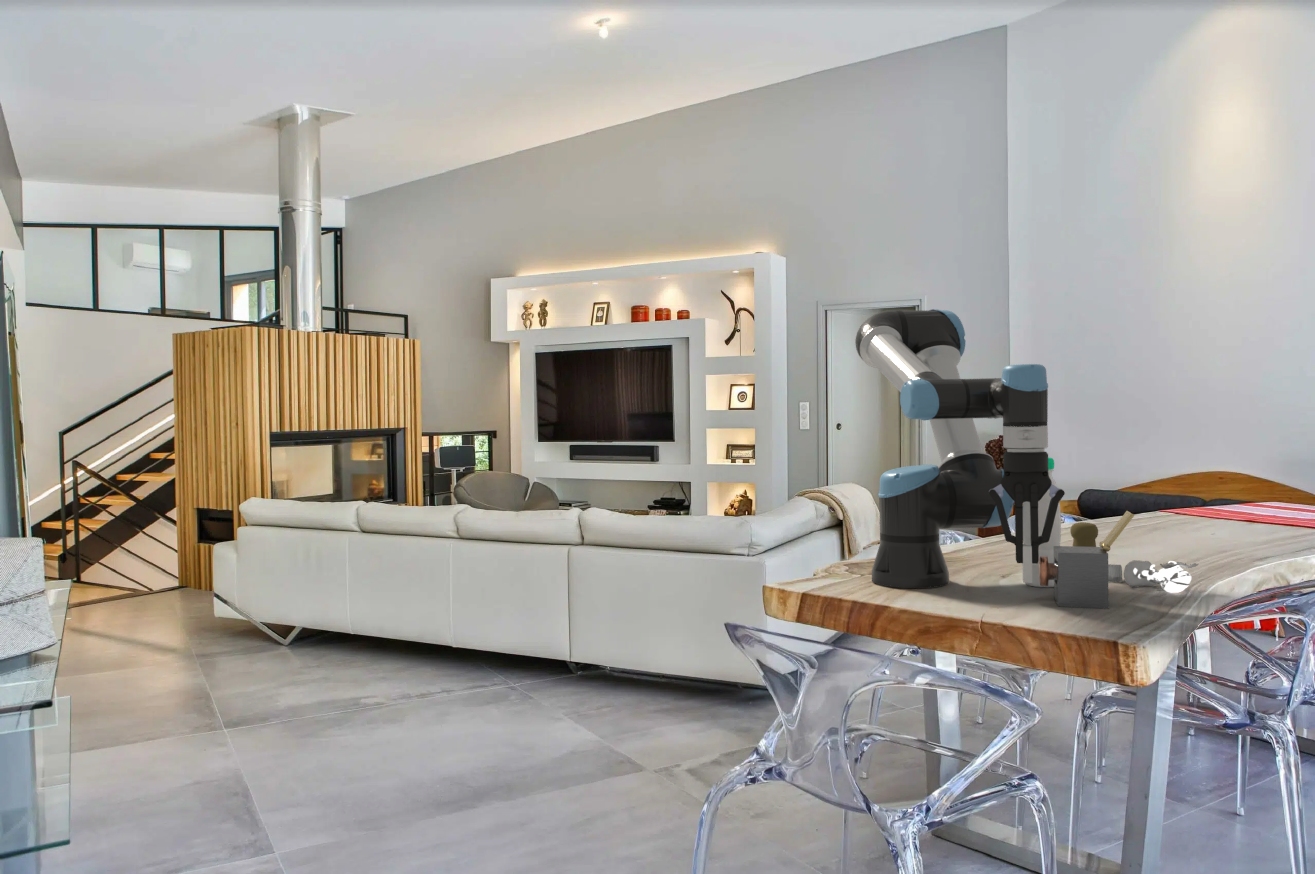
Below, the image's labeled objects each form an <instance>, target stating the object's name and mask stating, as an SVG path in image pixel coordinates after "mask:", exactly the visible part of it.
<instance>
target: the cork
mask: <svg viewBox="0 0 1315 874" xmlns="http://www.w3.org/2000/svg"><path fill="white" fill-rule="evenodd" d="M1070 535H1071V538H1073V540H1072V546H1076V547H1097V543H1096V540H1097V538H1098V536H1099V529H1098V526H1097V525H1096V524H1095V523H1091V522H1083V521H1082V522H1075V523H1073V524H1072V525H1071V526H1070Z"/></svg>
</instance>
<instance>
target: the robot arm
mask: <svg viewBox="0 0 1315 874" xmlns="http://www.w3.org/2000/svg"><path fill="white" fill-rule="evenodd" d="M965 336H966V332H965V328H964V324H963V322H962V321H961V318H960V317H959V316H958V315H957V314H956V313H955V312H953V311H950V310H945V309H944V310H942V309H937V308H933V309H929V310H915V309H913V310H910V309H907V310H899V309H898V310H889V309H888V310H884V311H880V312H877V313H874V314H872V315H870V317H868V318H867V319H866V320H865V321H863V323H862V324H861V325H860V326H859V328H858V330H857V332H856V336H855V339H854V340H855V344H854V345H855V349H856V352H857V354H858V356H859V358H860V359H861V360H862V361H863V362H864V363H865V364H866V365H868V366H869V367H871V368H875V369H877V370H878V371H879V372H880V373H881V374H882V376H884V377H885V378H886V379H887V380H888V381H889V382H890V383H891V385H893V386H894V388H896V389H897V390H898V392H899V394H900V395H899V403H900V408H901V409H902V414H903V415H904V416H905V418H908V419H910V420H921V421H929V422H930V426H931V430H932V433H933V436H934V437H933V438H934V440H935V443H936V447H937V451H938V454H939V458H940V462H941V463H940V464H939V466H938V465H937V464H919V465H917V464H916V465H907V466H902V467H897V468H893V469H889V470H886V471H885V472H883V473H882V474H881V475H880V477H879V489H878V490H879V491H878V494H877V495H878V497H879V502H878V503H879V505H878V506H879V546H878V550H877V553H876V556H875V559H874V562H873V565H872V569H871V581H872V583H874V584H876V585H879V586H885V587H891V588H898V589H899V588H902V589H930V588H939V587H944V586H946V585H949V584H950V573H949V572H950V571H949V569H948V565H947V562H946V560H945V557H944V554H943V550H942V548H941V544H940V530H945V529H946V530H947V529H948V530H950V529H985V528H994V527H1000V526H1001V528H1002V532H1003V535H1004V540H1005V541H1006V542H1007V543H1011V544H1013V545H1014V546H1015V561H1016V564H1021V565H1022V583H1024V584H1025V583H1032V563H1033V564H1038V561H1039V545H1040V544H1042V543H1047V542H1048V541H1049V539H1050V535H1051V531H1052V527H1053V523H1054V519H1055V515H1056V511H1057V507H1058V503H1060V502H1061V500H1062V499H1063V498H1064V496H1065V494H1066V493H1065V490H1064V489H1062V488H1059V487H1058V486H1057V485H1056V486H1057V487H1058V488H1057V487H1056V486H1054V485H1052V481H1051V479H1050V478H1049V474H1048V457H1049V453H1048V452H1047V451H1045V449H1047V448H1048V447H1049V431H1048V430H1049V429H1048V418H1049V417H1048V416H1049V415H1048V409H1049V408H1048V404H1049V403H1048V401H1049V400H1048V397H1049V395H1048V394H1049V393H1048V392H1049V391H1048V388H1049V383H1048V377H1047V368H1046V366H1045V365H1043V364H1040V363H1039V364H1037V363H1036V364H1035V363H1031V364H1030V363H1029V364H1027V363H1026V364H1010V365H1009V364H1008V365H1006V366H1004V367H1003V369H1002V372H1001V373H1002V374H1001V377H997V378H996V377H994V378H988V377H987V378H961V377H960V373H959V370H958V367H957V366H958V365H959V363H960V360H961V357H962V356H963V354H964V353H965V351H966V349H965V348H966V339H965ZM974 419H994V420H995V419H1002V445H1003V448H1004V449H1005V450H1006V451H1004V453H1003V457H1002V458H1003V460H1002V461H1003V468H999V469H997V466H996V463H995V460H994V458H993V456H992V455H990V454H989V453H986V452H984V451H983V448H982V444H981V441H980V438H979V434H978V431H977V428H976V425H975V422H974ZM1048 489H1049V490H1050V493H1049V495H1050V497H1051V500H1050V504H1049V508H1048V512H1047V516H1046V520H1045V524H1044V528H1043V532H1042V536H1038V501H1040V500H1041V498H1042V497H1043V496H1044V495H1045V493H1046V492H1047V491H1048ZM1026 501H1027V502H1030V535H1031V545H1026V544H1023V502H1026ZM1013 507H1014V528H1015V529H1014V533H1015V535H1013V534H1012V532H1011V529H1010V524H1009V521H1008V519H1010V516H1011V514H1012V511H1013Z"/></svg>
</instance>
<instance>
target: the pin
mask: <svg viewBox="0 0 1315 874" xmlns="http://www.w3.org/2000/svg"><path fill="white" fill-rule="evenodd" d="M1049 580H1057V563H1048V558H1047V557H1041V556H1040V557H1039V581H1040V586H1048V582H1049ZM1122 581H1123V568H1122V565H1121V564H1112V563H1111V564H1109V563H1108V583H1111V582H1112V583H1113V582H1114V583H1116V582H1117V583H1121V582H1122Z"/></svg>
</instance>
